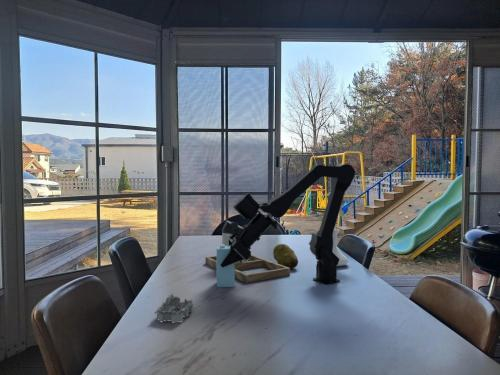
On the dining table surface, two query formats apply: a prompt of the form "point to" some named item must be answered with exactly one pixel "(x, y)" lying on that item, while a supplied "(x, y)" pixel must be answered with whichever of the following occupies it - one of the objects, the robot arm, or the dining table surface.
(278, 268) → the light wood flat frame
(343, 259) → the flower in vase
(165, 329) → the dining table surface
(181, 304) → the egg carton
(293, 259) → the potato
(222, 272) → the milk carton
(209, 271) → the dining table surface
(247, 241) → the robot arm
